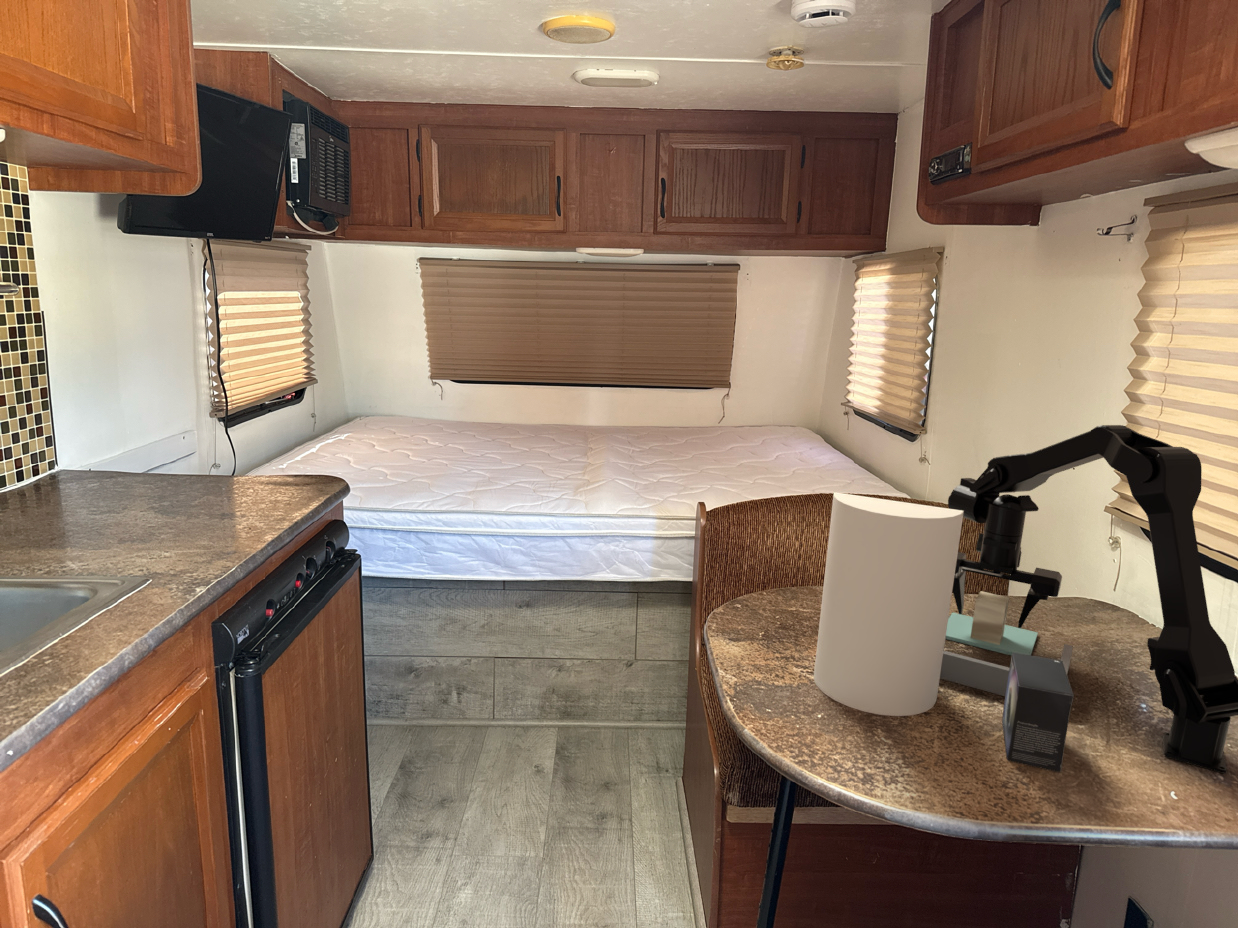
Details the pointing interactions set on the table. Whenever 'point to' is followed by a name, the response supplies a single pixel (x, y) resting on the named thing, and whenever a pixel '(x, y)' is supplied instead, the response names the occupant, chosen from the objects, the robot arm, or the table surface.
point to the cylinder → (886, 603)
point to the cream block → (989, 617)
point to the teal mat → (1010, 643)
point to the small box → (1036, 711)
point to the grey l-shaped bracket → (983, 671)
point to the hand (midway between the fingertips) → (989, 620)
